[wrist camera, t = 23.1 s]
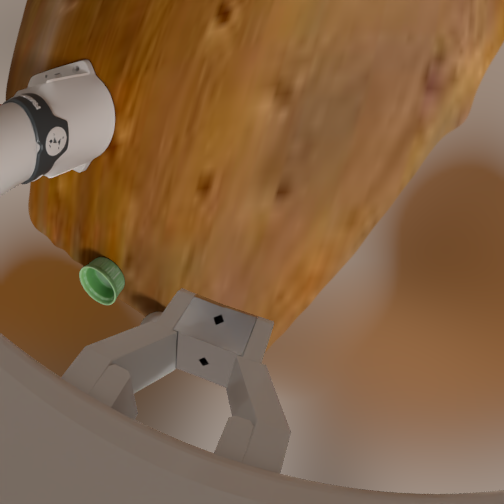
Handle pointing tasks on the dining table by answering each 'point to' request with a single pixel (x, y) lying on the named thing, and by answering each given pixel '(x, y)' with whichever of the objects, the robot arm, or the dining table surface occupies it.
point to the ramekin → (102, 280)
